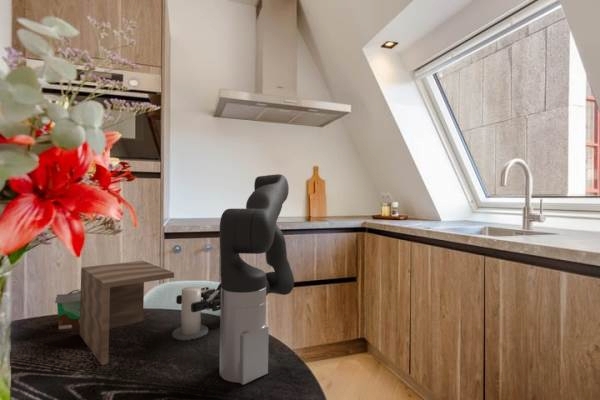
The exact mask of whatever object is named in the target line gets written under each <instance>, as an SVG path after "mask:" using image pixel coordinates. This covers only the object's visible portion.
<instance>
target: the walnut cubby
mask: <svg viewBox="0 0 600 400" xmlns="http://www.w3.org/2000/svg"><path fill="white" fill-rule="evenodd" d="M80 269H81V270H80V289H81V302H80V329H79V336H80V337H81V338H82V340H83V341H84V343H85V344H86V345H87V347H88V348H89V350H90V351H91V352H92V353H93V355H94V357H95V358H96V359H97V361H98V362H99V363H100V365H101V366H105V365H108V364H109V353H110V352H109V349H110V348H109V347H110V345H109V344H110V330H111V329H112V330H113V329H116V328H120V327H124V326H128V325H133V324H137V323H140V321H141V322H144V303H145V302H144V301H145V300H144V297H145V283H147V282H148V283H149V282H154V281H161V280H167V279H172V278H175V272H174V271H171V270H169V269H167V268H166V269H165V268H163V267H160V266H158V265H155V264H152V263H151V262H148V261H145V260H136V261H128V262H120V263H119V262H117V263H111V264H110V263H109V264H101V265H92V266H84V267H83V266H81V268H80ZM136 322H137V323H136Z"/></svg>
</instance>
